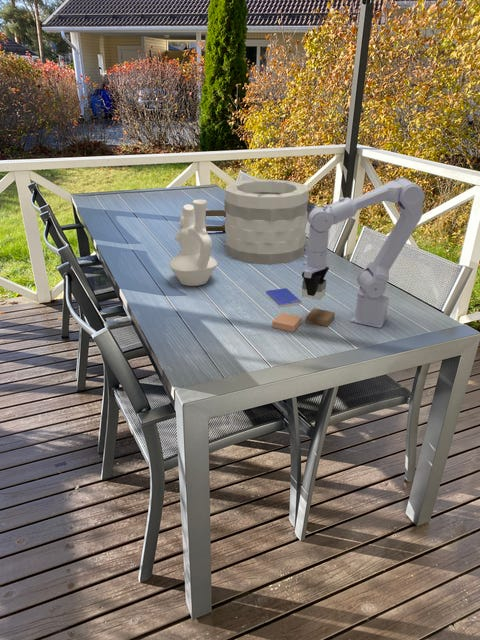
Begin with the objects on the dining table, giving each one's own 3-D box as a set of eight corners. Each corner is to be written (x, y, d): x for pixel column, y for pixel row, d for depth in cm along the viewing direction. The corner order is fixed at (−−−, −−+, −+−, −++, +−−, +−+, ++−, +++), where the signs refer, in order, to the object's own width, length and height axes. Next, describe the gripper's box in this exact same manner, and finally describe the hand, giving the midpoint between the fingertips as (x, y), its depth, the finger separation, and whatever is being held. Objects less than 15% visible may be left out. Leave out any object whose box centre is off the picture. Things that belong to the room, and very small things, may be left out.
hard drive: (302, 301, 169) (287, 287, 179) (279, 304, 166) (265, 290, 177) (301, 305, 169) (286, 291, 180) (279, 308, 167) (265, 294, 177)
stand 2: (334, 317, 159) (334, 312, 159) (327, 326, 154) (327, 321, 153) (313, 313, 162) (313, 307, 161) (305, 322, 157) (306, 316, 156)
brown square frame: (174, 233, 242) (174, 224, 240) (190, 216, 269) (190, 208, 267) (237, 236, 237) (237, 227, 235) (247, 219, 264) (247, 210, 262)
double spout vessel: (209, 270, 197) (207, 188, 182) (227, 291, 178) (226, 202, 164) (165, 276, 191) (159, 192, 177) (179, 298, 173) (173, 206, 158)
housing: (325, 294, 154) (326, 279, 152) (320, 300, 150) (321, 284, 148) (306, 291, 156) (307, 276, 154) (301, 296, 153) (302, 281, 151)
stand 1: (301, 322, 156) (302, 317, 156) (293, 332, 151) (293, 326, 150) (281, 318, 159) (281, 312, 158) (272, 327, 154) (272, 321, 153)
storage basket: (286, 235, 238) (288, 177, 226) (319, 259, 208) (324, 193, 196) (215, 243, 228) (214, 182, 216) (239, 269, 199) (239, 200, 186)
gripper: (313, 241, 154) (310, 281, 160) (295, 254, 143) (292, 298, 149) (335, 244, 151) (331, 285, 157) (318, 258, 140) (315, 302, 146)
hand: (313, 292), depth 153 cm, fingers closed on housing, 4 cm apart
